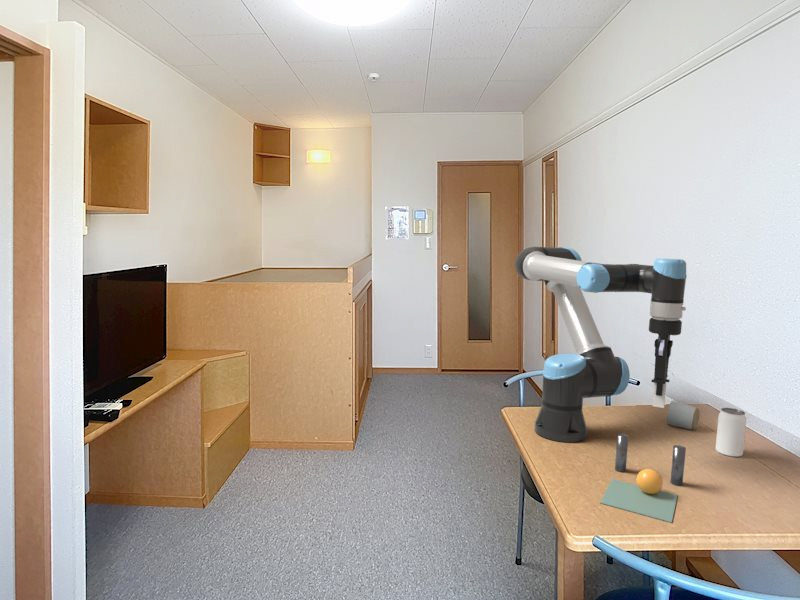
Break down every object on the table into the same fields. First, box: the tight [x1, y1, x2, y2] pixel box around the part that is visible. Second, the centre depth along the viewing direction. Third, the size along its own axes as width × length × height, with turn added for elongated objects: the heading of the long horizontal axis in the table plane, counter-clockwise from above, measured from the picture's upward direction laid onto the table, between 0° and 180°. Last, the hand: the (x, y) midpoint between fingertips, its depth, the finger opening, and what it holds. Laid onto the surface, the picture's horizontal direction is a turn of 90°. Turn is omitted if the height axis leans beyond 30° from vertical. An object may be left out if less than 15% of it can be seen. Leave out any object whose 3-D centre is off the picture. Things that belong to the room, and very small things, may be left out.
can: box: [715, 407, 747, 458], centre depth 143 cm, size 6×6×12 cm
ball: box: [636, 468, 664, 494], centre depth 118 cm, size 6×6×6 cm
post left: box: [614, 433, 630, 473], centre depth 130 cm, size 3×3×9 cm
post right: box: [670, 444, 687, 487], centre depth 123 cm, size 3×3×9 cm
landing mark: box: [600, 478, 678, 524], centre depth 116 cm, size 14×14×1 cm
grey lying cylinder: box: [666, 400, 701, 431], centre depth 164 cm, size 11×8×8 cm
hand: (658, 406), depth 137 cm, fingers closed
